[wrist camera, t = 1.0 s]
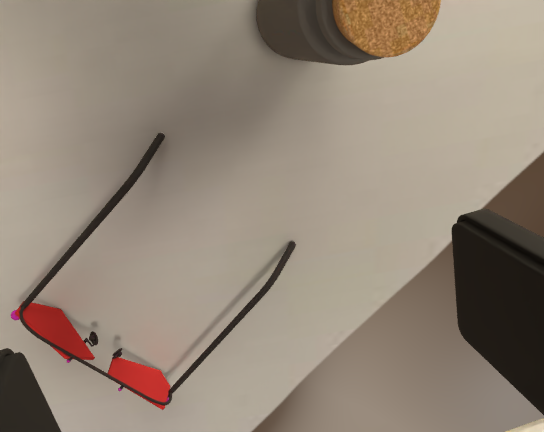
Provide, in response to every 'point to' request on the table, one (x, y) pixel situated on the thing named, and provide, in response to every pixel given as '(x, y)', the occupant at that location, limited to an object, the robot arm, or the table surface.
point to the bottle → (345, 28)
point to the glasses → (70, 346)
